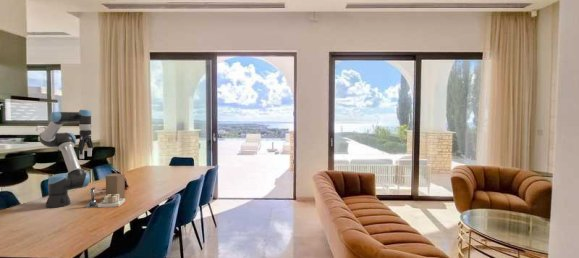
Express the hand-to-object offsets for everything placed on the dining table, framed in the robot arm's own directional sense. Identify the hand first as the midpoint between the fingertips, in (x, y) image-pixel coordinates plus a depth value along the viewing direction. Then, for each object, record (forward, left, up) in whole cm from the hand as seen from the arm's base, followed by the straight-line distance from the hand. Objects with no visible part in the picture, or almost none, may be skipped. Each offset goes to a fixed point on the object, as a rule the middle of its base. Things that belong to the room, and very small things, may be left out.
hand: (85, 157), depth 235 cm
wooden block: (+16, +15, -37) cm, 43 cm away
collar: (+19, -2, -36) cm, 40 cm away
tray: (+19, -2, -37) cm, 41 cm away
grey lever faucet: (+6, -4, -37) cm, 37 cm away
